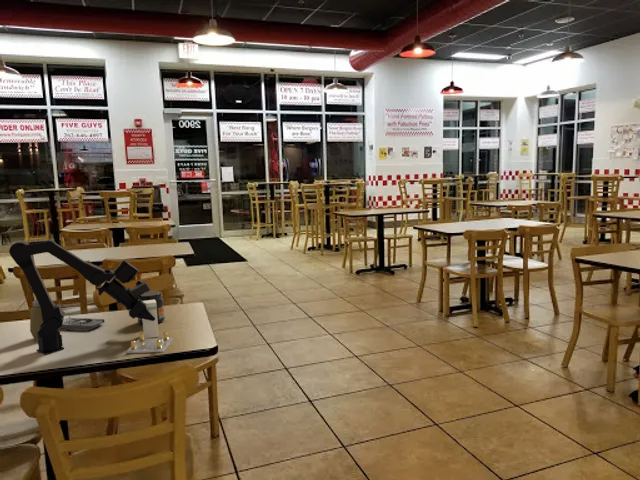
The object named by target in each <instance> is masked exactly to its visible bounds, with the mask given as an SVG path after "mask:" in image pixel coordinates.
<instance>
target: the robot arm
mask: <svg viewBox="0 0 640 480" xmlns="http://www.w3.org/2000/svg"><path fill="white" fill-rule="evenodd" d="M8 250H9V251H8V252H9V255H10V257H11V258H12V260H13V261H14V263H15V264H16V265H17V266H18V267H19V269H21V271H22V272H23V274H24V277H25V278H26V280H27V282H28V284H29V287H30V288H31V290H32V293H33V294H34V297H35V300H36V299H37V301H38V303H39V305H40V308H41V314H42V319H43V323H42V324H41V325H40V327H39V330H38V332H37V333H38V335H37V337H38V340H37V342H38V343H37V344H38V345H37V346H38V349H36V352H37V353H40V354H43V355H49V354H53V353H54V352H55V353H56V352H59V351H61V350H64V349H65V347H64V346H63V336H62V334H61V330H59V331H57V329H59V328H60V327H61V326H62V324H63V323H64V322H63V320H64V319H65V317H64V316H65V314H66V313H65V312H64V310H63V309H62V306H61V303H60V302H59V303H57V304H56V303H55V302H54V300H53V299H52V298H51V295H50V294H49V291H48V289H47V287H46V285H45V283H44V280H43V279H42V277H41V274H40V272H39V269H38V268H37V265H36V263H35V258H34V256H35V255H40V254H43V253H44V254H45V253H48V254H50V255H51V256H53V257H54V258H57V259H58V260H59V261H61V262H63V263H64V264H66V265H67V266H69V267H71V268H72V269H74V270H76V271H77V272H79V274H80V275H81V276H82V277H83V278H84V279H85V280H86V281H88V282H89V283H90V284H91V285H93V286H97V287H96V288H97V291H98V296H101V295H102V294H103V293H106V294H107V295H108V296H109V297H111V298H112V299H114V300H115V301H116V303H117V304H120V305H122V306H123V307H125V309H126V310H127V311H128V316H129V317H131V319H135V318H137V319H138V318H141V319H146V320H151V321H154V320H155V318H154V317H153V315H152V314H151V313H150V312H149V311H148V310H147V309H146V303H144V302H143V301H144V298H142V299H141V300H138V299H139V298H140V297H142V294H144V293H146V292H148V291H151V288H150V286H149V284H148V283H147V282H146V280H145V281H144V280H143V281H142V280H137V281H136V282H135V285H134V286H133V287H132V288H130V287H129V286H125V285H124V284H126V283H128V284H129V283H130V282H131V281H132V280H133V279H134V277H135V276H136V275H137V274H138V273H139V272H140V270H139V269H138V268H136V266H134V265H133V264H132V263H129V262H128V261H126V260H125V259H122V260H121V262H120V263H119V265H117V267H116V268H115V269H104V268H103V267H101V266H98V265H96V264H94V263H90V262H87V261H85V260H83V259H82V258H80V257H79V256H77V255H75V253H72V252H71V251H69V250H67V249H66V248H64V247H63V246H61V245H60V244H58V243H56V241H54V239H47V240H40V241H39V240H37V241H29V242H28V241H25V240H18V241H15V242H14V243H13V244H12V245H11V246H10V248H9V249H8Z"/></svg>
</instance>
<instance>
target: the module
mask: <svg viewBox="0 0 640 480" xmlns="http://www.w3.org/2000/svg"><path fill="white" fill-rule="evenodd" d="M143 302H144V303H146V309H147V310H148V311H149V312H150V313H151V314H152V315H153V317H154V318H155V320H154V321H151V320H146V319H142V322H143V325H142V333H144V339H151V338H160V337H159V336H160V334H159V333H160V332H159V323H158V319H157V305H156V301H155V300H147V301H143Z"/></svg>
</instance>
